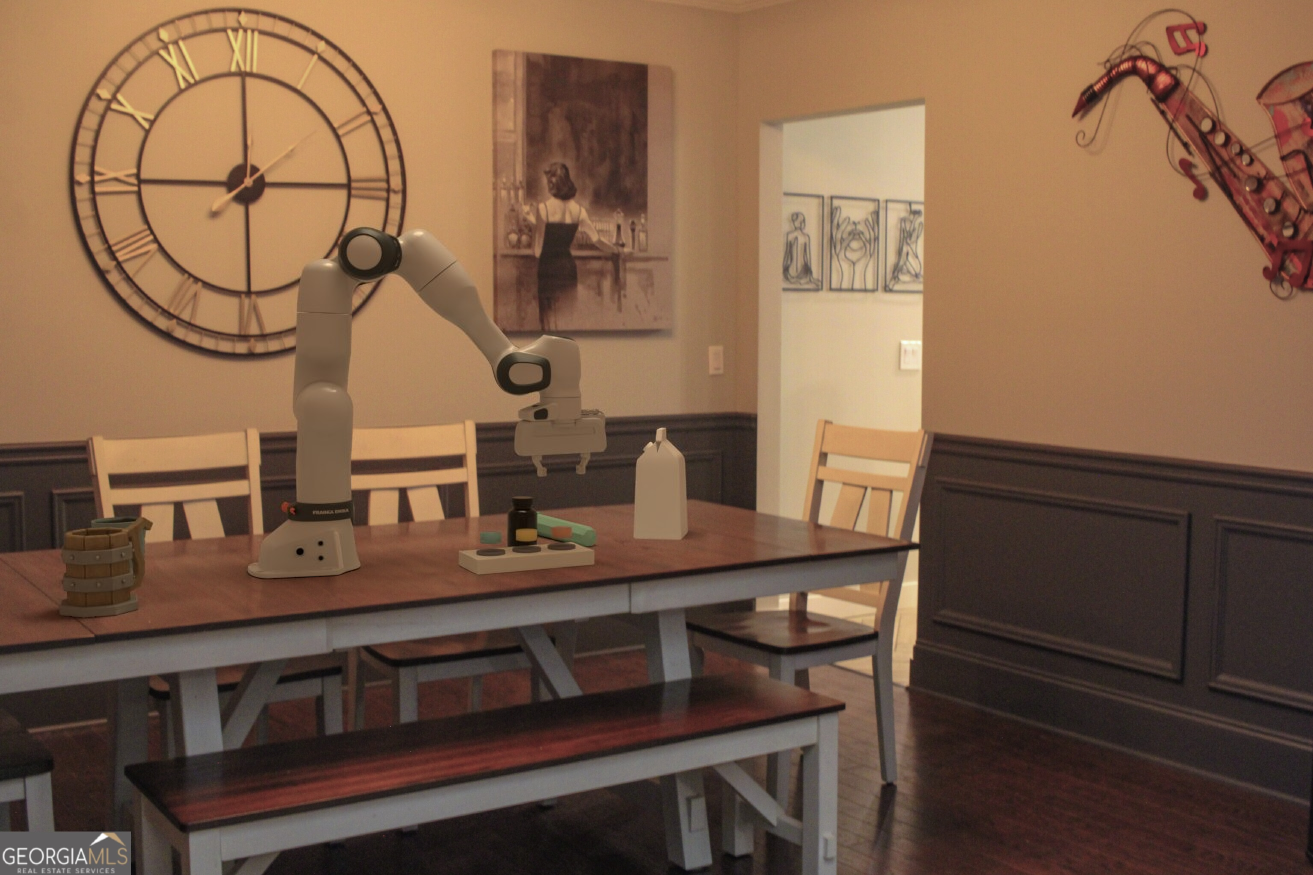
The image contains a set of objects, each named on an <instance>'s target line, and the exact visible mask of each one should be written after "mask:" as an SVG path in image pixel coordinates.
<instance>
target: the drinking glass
mask: <svg viewBox="0 0 1313 875" xmlns="http://www.w3.org/2000/svg"><path fill="white" fill-rule="evenodd" d="M139 517H140V516H113V517H101V518H96V519H92V520H91V521H90V524H91V525H90V526H91V528H106V527H108V528H110V527H112V528H125V529H126V528H127V527H128V526H130V525H131V524H133V523H134V522H135V521H136V520H137V519H138V518H139ZM146 532H147V530H144V529H142V530H141V531H140V532H139V540H140V548H141V551H142V554H143V557H144V559H146V557H145V553H146V536H147V533H146ZM129 568H132V569H133V563H132V560H131V559H130V560H129Z"/></svg>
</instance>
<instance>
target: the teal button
mask: <svg viewBox="0 0 1313 875" xmlns="http://www.w3.org/2000/svg"><path fill="white" fill-rule="evenodd" d="M479 543H480V544H483V545H496V544H501V543H502V531H497V530H496V531H495V530H489V531H486V530H485V531H481V532H480V533H479Z"/></svg>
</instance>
